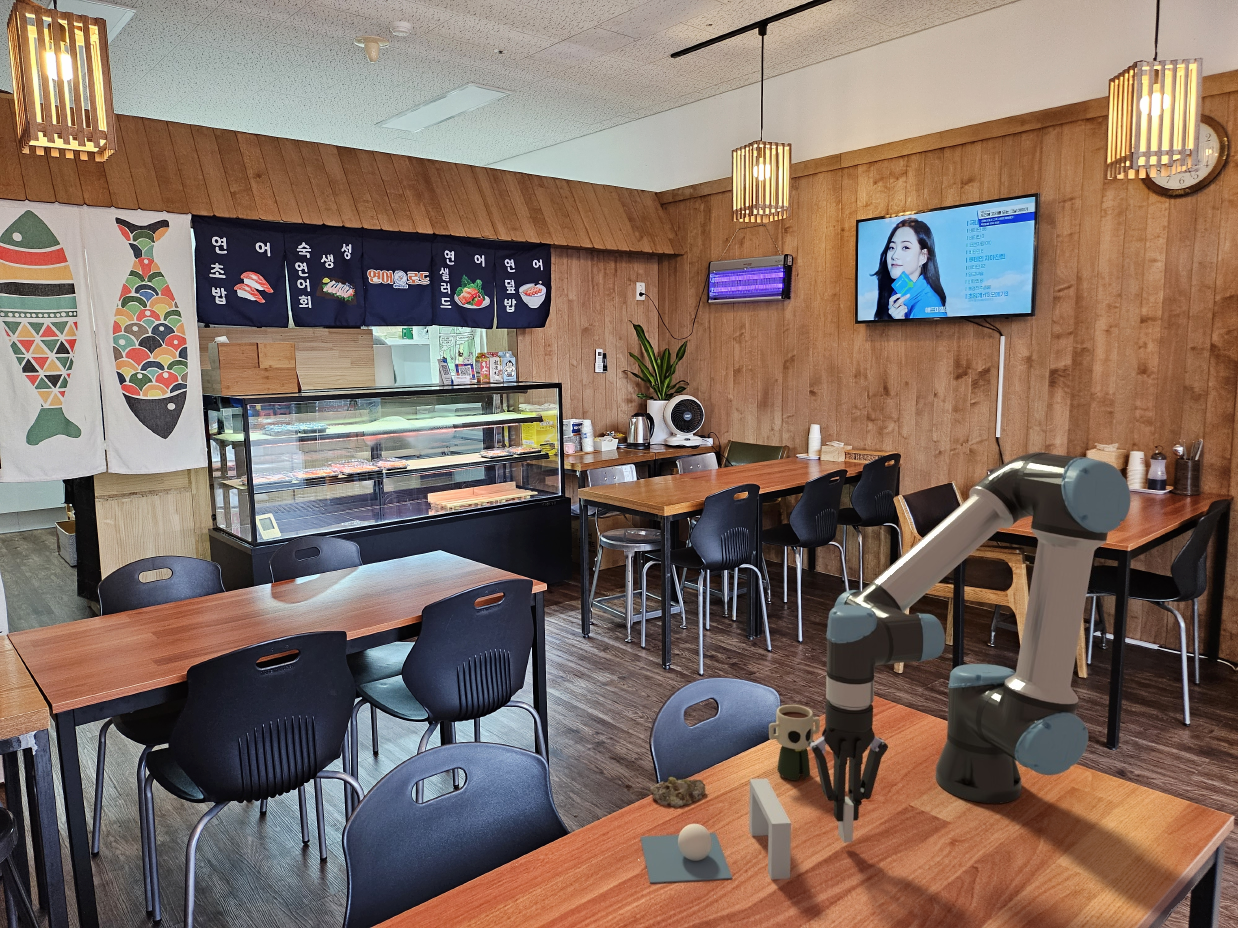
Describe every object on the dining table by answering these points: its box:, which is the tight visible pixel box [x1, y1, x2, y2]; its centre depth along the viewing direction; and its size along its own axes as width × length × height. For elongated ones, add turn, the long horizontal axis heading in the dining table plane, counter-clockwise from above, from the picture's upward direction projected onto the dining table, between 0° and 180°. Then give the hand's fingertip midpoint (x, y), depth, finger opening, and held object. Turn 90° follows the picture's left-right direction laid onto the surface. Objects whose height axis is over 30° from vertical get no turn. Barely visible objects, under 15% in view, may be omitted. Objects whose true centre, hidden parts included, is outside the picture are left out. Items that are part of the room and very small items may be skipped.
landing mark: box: [639, 832, 733, 884], centre depth 139 cm, size 13×13×1 cm
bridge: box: [748, 778, 792, 880], centre depth 140 cm, size 3×14×9 cm, turn 5°
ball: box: [678, 823, 712, 861], centre depth 139 cm, size 6×6×6 cm
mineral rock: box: [649, 776, 707, 808], centre depth 159 cm, size 11×4×8 cm
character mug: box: [768, 704, 821, 781], centre depth 166 cm, size 11×7×13 cm, turn 107°
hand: (845, 837), depth 141 cm, fingers closed
